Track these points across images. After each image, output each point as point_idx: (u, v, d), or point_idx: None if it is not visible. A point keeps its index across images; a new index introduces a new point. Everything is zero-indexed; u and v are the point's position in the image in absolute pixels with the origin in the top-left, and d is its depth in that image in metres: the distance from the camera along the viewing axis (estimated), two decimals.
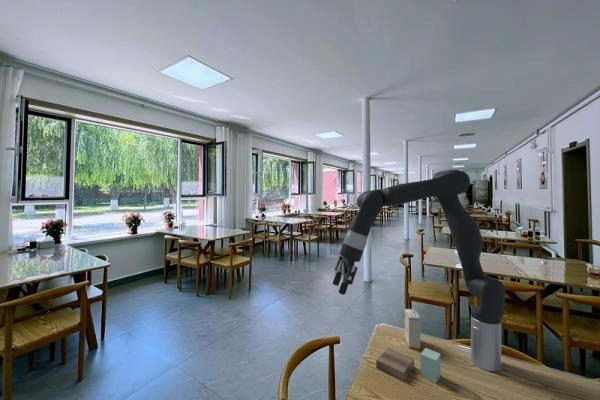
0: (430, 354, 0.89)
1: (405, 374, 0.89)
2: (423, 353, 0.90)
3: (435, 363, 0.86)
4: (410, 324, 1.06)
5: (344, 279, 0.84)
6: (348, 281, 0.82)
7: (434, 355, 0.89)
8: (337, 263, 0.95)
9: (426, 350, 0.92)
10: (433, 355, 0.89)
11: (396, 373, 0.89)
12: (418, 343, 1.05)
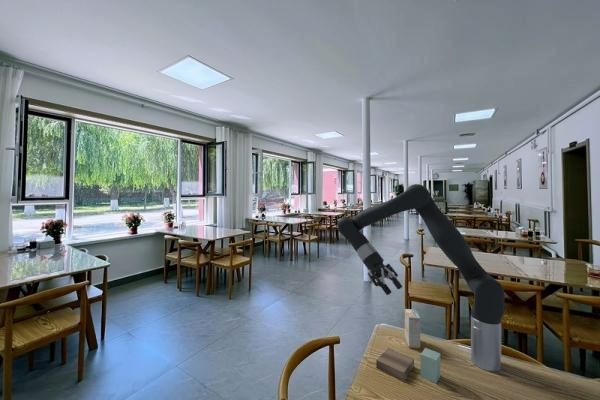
0: (430, 354, 0.89)
1: (405, 374, 0.89)
2: (423, 353, 0.90)
3: (435, 363, 0.86)
4: (410, 324, 1.06)
5: None
6: (376, 283, 0.97)
7: (434, 355, 0.89)
8: None
9: (426, 350, 0.92)
10: (433, 355, 0.89)
11: (396, 373, 0.89)
12: (418, 343, 1.05)
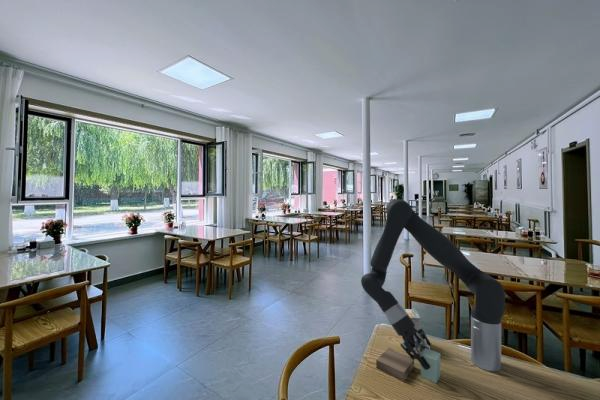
0: (430, 354, 0.89)
1: (405, 374, 0.89)
2: (423, 353, 0.90)
3: (435, 363, 0.86)
4: None
5: None
6: (413, 356, 0.89)
7: (434, 355, 0.89)
8: None
9: (426, 350, 0.92)
10: (433, 355, 0.89)
11: (396, 373, 0.89)
12: None
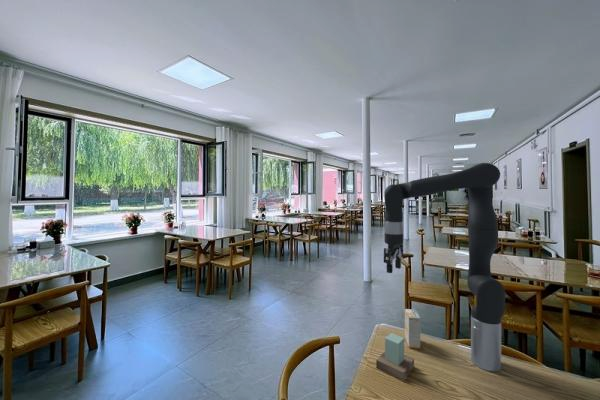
0: (394, 338, 0.94)
1: (405, 374, 0.89)
2: (387, 337, 0.95)
3: (397, 346, 0.91)
4: (410, 324, 1.06)
5: None
6: (385, 261, 1.02)
7: (397, 339, 0.94)
8: None
9: (391, 335, 0.96)
10: (397, 339, 0.93)
11: (396, 373, 0.89)
12: (418, 343, 1.05)
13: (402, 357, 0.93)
